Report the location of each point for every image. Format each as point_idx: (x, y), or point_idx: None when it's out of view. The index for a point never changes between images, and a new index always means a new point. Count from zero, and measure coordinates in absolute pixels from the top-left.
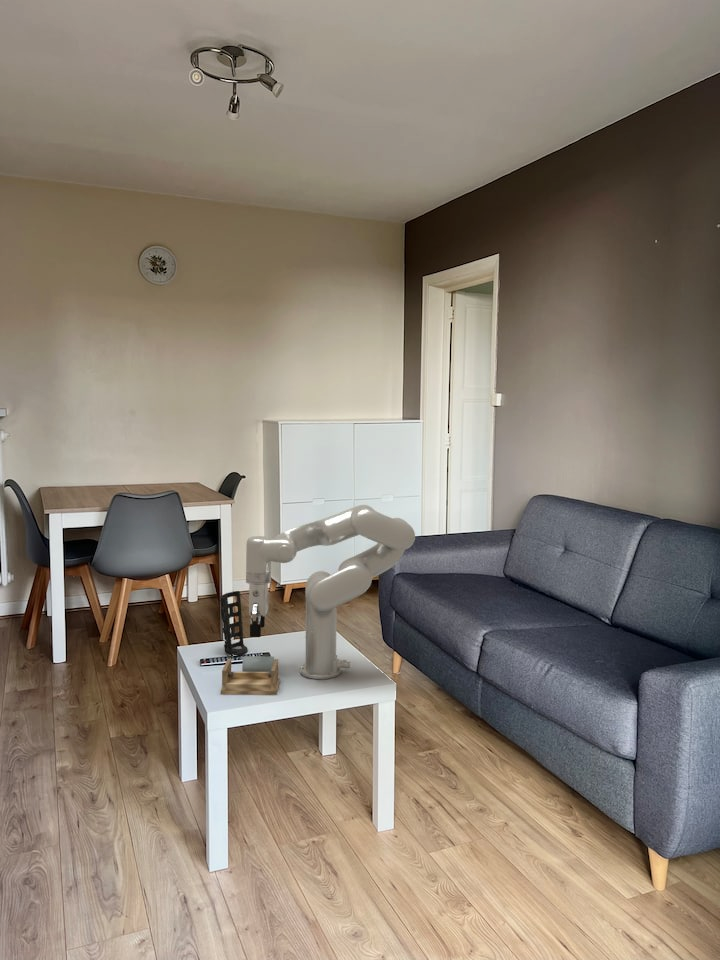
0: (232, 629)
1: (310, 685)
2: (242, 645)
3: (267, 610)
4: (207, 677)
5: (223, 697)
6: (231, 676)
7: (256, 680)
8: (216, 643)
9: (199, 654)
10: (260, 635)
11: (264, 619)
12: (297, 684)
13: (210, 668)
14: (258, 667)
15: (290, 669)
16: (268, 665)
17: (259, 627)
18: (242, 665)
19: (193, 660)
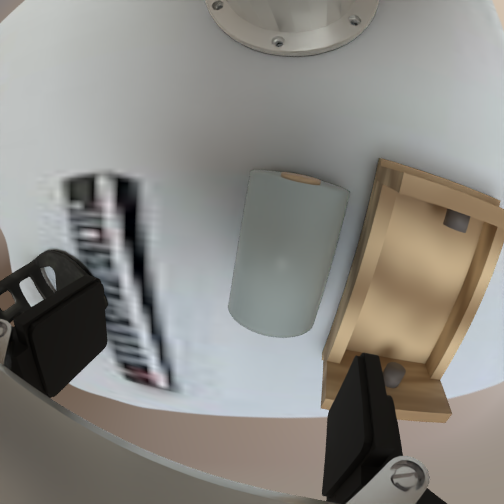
0: (12, 316)
1: (433, 49)
2: (37, 263)
3: (21, 391)
4: (272, 393)
5: None
6: (402, 369)
7: (381, 260)
8: None
9: (97, 372)
10: (379, 360)
11: (52, 304)
12: (419, 92)
13: (195, 375)
14: (332, 259)
15: (237, 95)
16: (342, 212)
17: (386, 428)
18: (308, 329)
19: (137, 394)
